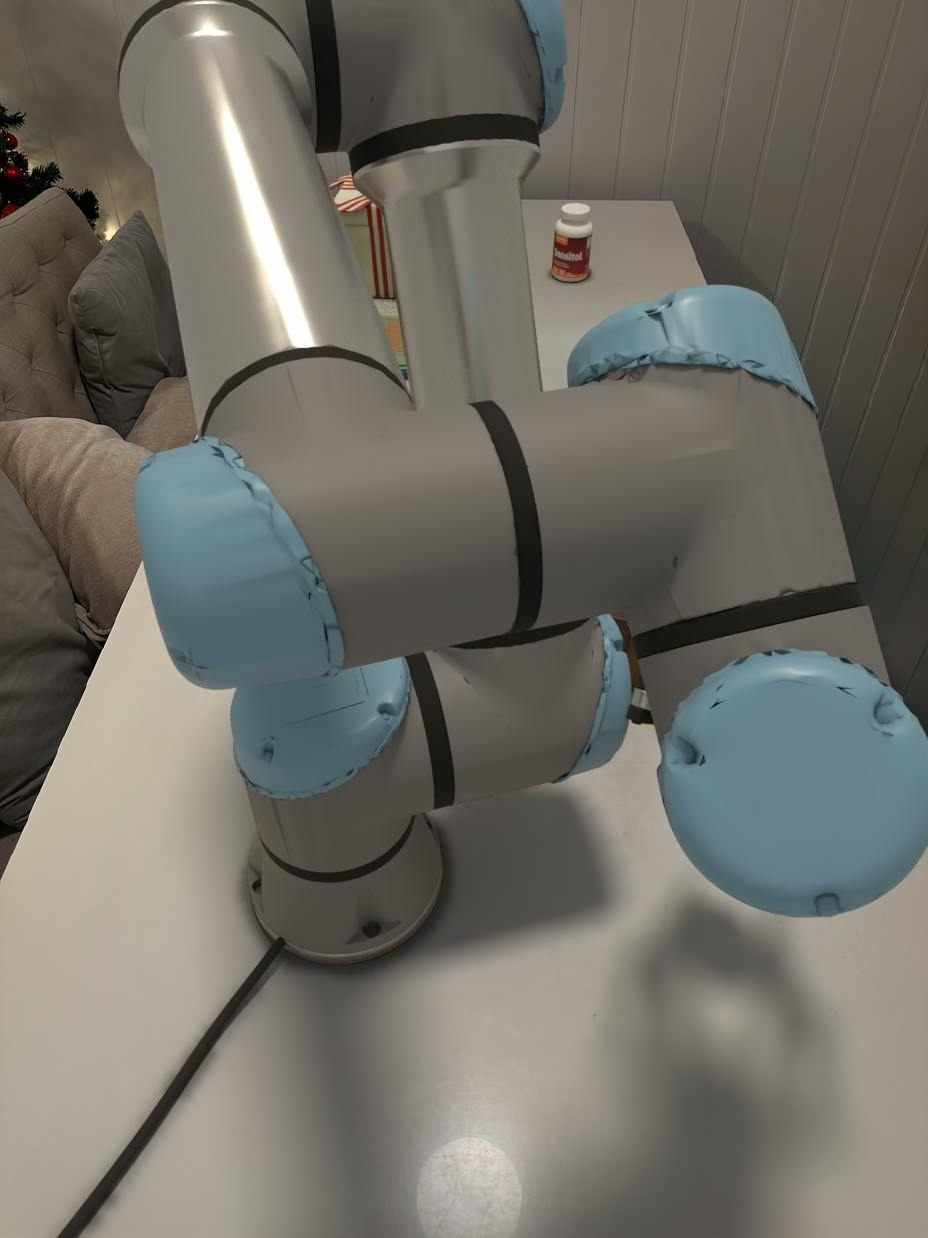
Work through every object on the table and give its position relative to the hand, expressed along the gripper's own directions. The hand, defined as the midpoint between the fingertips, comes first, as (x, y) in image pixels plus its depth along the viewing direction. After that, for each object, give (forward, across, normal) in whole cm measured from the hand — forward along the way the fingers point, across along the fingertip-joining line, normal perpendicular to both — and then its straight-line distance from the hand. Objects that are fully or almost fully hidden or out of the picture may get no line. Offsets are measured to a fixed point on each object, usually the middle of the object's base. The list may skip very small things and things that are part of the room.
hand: (751, 715), depth 62 cm
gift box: (+76, -72, +49) cm, 116 cm away
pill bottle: (+86, -44, +59) cm, 113 cm away
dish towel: (+61, -63, +34) cm, 93 cm away
